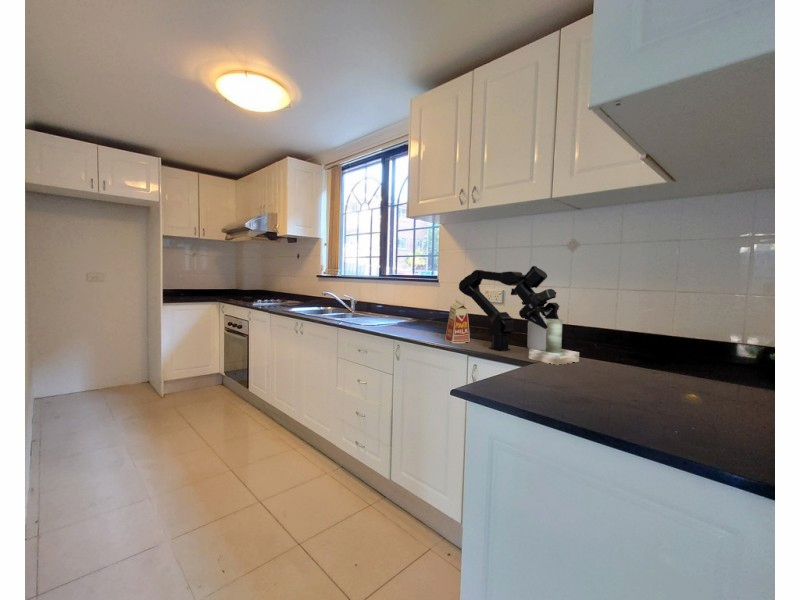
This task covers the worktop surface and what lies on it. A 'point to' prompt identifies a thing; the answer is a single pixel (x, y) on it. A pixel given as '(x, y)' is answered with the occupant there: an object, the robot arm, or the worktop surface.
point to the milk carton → (458, 324)
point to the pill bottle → (536, 336)
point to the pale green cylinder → (554, 336)
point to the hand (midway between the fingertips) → (553, 327)
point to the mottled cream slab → (554, 356)
